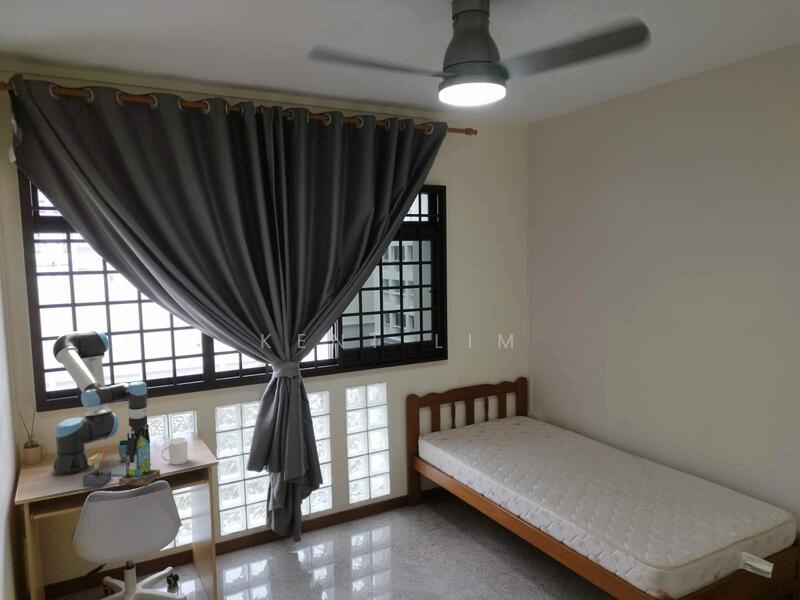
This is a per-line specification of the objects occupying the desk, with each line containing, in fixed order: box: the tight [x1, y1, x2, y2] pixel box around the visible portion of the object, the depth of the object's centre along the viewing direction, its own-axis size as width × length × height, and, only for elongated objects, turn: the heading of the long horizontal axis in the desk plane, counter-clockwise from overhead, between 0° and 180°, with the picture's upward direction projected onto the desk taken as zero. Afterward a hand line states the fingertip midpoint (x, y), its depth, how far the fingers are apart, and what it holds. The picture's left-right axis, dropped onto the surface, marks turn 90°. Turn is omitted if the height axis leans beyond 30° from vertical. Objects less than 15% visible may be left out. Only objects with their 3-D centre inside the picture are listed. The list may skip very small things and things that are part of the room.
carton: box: [125, 436, 151, 478], centre depth 251 cm, size 7×8×18 cm
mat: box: [110, 461, 152, 477], centre depth 263 cm, size 14×14×1 cm
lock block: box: [82, 469, 112, 488], centre depth 248 cm, size 8×8×4 cm
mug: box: [161, 437, 189, 466], centre depth 272 cm, size 9×12×11 cm
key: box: [88, 450, 106, 474], centre depth 248 cm, size 9×2×8 cm, turn 173°
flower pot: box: [117, 439, 128, 463], centre depth 275 cm, size 9×9×9 cm
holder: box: [118, 468, 161, 487], centre depth 252 cm, size 13×12×2 cm
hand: (138, 464), depth 252 cm, fingers closed on carton, 8 cm apart
